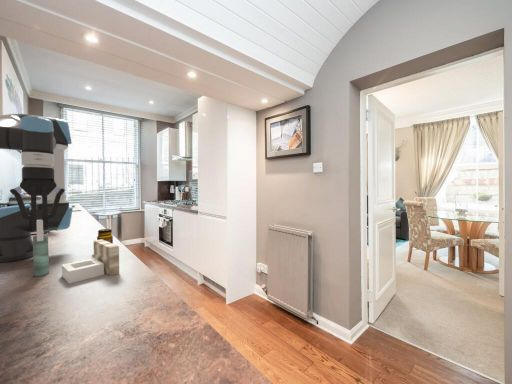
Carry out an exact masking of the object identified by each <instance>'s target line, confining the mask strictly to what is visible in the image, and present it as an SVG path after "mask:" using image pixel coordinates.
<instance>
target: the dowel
mask: <svg viewBox="0 0 512 384" xmlns="http://www.w3.org/2000/svg"><path fill="white" fill-rule="evenodd" d="M32 241H33V256H32V258H33V259H32V261H33V277H42V276H46V275H48V274H49V273H50V265H49V264H50V263H49V261H50V260H49V259H50V258H49V234H43V241H37V234H36V235H33V236H32Z"/></svg>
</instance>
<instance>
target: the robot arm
mask: <svg viewBox="0 0 512 384" xmlns="http://www.w3.org/2000/svg"><path fill="white" fill-rule="evenodd" d="M69 145H72V136H71V133H70V126H69V123H68V121H67V120H66V119H60V118H56V117H50V116H40V115H33V114H27V113H11V114H3V115H0V150H11V151H12V150H13V151H21V153H20V157H21V165H23V167H22V168H21V182H20V183H19V186H16V187H14V188H11V189H10V190H9V192H10V193H11V194H12V195H13V196H14V198H15V201H16V203H17V205H9V206H2V207H0V263H8V262H15V261H20V260H25V259H29V258H33V238H32V233H36V235H37V241H43V235H44V232H52V231H62V230H67V229H70V227H71V222H72V214H73V208H74V207H73V205H71V204H70V201H69V200H67V199H66V188H65V187H66V182H65V181H66V177H65V171H66V170H65V150H67V149H68V148H69ZM22 190H23V191H24V192H25V193H26V194H27V195H28V196H30V203H27V204H26V203H25V202H24V199H23V197H22V195H21V194H22V193H23V191H22ZM37 196H38V197H39V196H40V200H38V201H37Z"/></svg>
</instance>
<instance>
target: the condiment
mask: <svg viewBox="0 0 512 384" xmlns="http://www.w3.org/2000/svg"><path fill="white" fill-rule="evenodd" d="M101 239H102V240H105V241H108V242H110V243H113V244H114V242H113V241H114V240H113V239H114V235H113V232H112V229H111V228H102V229H98V231H97V236H96V240H101ZM93 258H94V253H93V254H91V258H90V259H93Z"/></svg>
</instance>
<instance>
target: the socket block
mask: <svg viewBox="0 0 512 384" xmlns="http://www.w3.org/2000/svg"><path fill="white" fill-rule="evenodd" d="M104 275H105V272H104V263H102V262H100V261H99V260H97V259H96V258H93V259H91V258H88V259H83V260H80V261H79V260H78V261H73V262H69V263H63V264H61V277H62V278H63V279H64V280H65V281H66V282H67V283H68V284H73V283H77V282H80V281H85V280H89V279H92V278H96V277H99V276H104Z"/></svg>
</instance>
